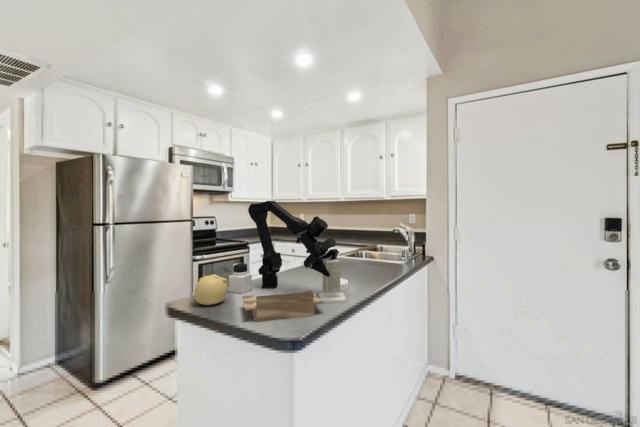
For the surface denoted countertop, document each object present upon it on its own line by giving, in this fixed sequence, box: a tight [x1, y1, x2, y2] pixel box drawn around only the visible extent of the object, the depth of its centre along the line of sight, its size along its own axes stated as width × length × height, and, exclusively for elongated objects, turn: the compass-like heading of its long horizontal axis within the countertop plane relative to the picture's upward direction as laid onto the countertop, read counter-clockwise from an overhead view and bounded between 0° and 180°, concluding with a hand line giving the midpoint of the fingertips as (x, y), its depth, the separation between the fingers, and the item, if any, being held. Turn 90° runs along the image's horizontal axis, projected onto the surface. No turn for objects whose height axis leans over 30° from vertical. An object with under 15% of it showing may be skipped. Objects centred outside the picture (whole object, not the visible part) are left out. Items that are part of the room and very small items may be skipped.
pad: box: [318, 291, 347, 304], centre depth 127 cm, size 10×10×1 cm
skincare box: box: [322, 258, 342, 293], centre depth 126 cm, size 6×4×12 cm
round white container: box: [321, 277, 349, 292], centre depth 144 cm, size 12×12×4 cm
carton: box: [241, 289, 324, 322], centre depth 113 cm, size 16×26×8 cm, turn 107°
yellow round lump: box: [194, 273, 229, 306], centre depth 122 cm, size 11×12×11 cm
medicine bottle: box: [228, 262, 253, 295], centre depth 139 cm, size 7×7×12 cm
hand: (334, 274), depth 126 cm, fingers closed on skincare box, 7 cm apart
